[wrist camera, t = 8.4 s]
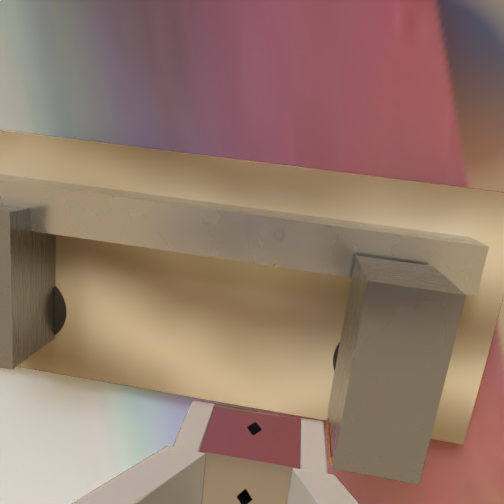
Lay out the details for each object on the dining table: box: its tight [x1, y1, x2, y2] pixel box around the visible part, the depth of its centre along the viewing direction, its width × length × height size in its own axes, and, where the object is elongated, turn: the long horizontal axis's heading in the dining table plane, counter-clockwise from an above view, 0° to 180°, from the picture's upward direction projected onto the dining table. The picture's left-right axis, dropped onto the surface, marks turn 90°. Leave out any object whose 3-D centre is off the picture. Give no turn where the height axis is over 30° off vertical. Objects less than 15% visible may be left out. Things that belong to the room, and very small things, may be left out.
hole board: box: [0, 130, 504, 445], centre depth 21 cm, size 12×26×1 cm, turn 83°
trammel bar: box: [0, 174, 489, 369], centre depth 19 cm, size 8×22×3 cm, turn 83°
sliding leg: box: [326, 255, 466, 484], centre depth 17 cm, size 7×3×6 cm, turn 173°
